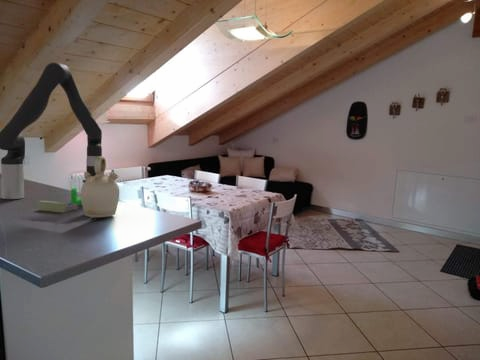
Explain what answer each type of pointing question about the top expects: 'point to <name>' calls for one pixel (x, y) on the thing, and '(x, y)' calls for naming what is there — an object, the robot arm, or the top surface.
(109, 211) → the jug
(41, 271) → the top surface
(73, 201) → the mechanical part
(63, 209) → the low bench
